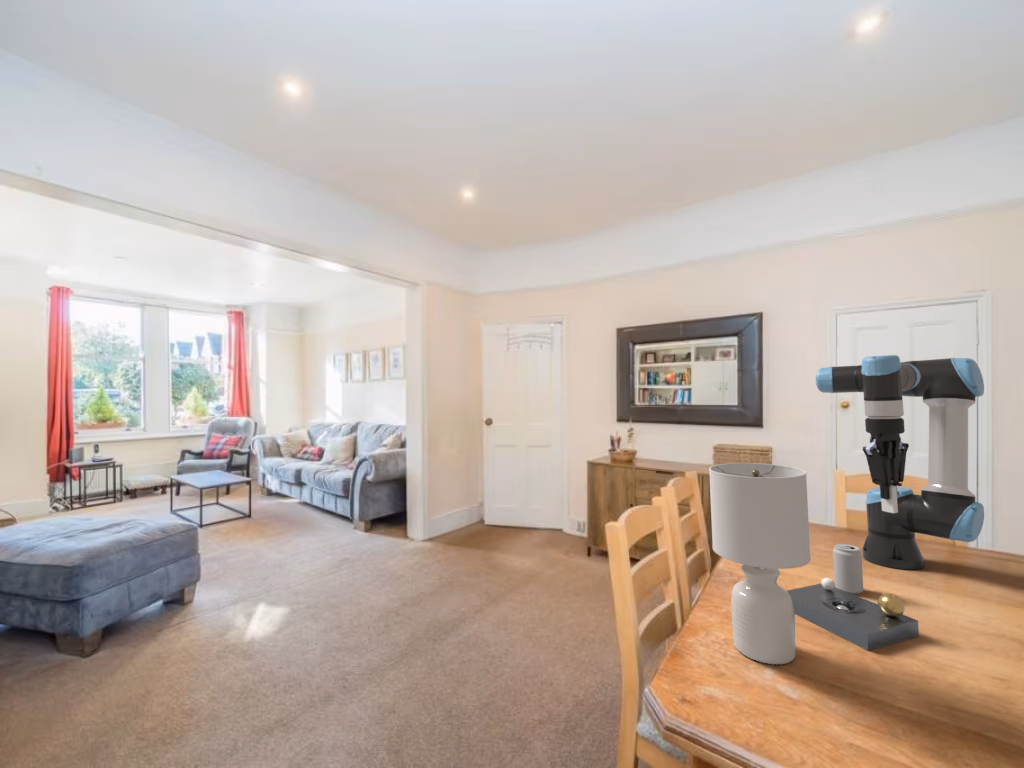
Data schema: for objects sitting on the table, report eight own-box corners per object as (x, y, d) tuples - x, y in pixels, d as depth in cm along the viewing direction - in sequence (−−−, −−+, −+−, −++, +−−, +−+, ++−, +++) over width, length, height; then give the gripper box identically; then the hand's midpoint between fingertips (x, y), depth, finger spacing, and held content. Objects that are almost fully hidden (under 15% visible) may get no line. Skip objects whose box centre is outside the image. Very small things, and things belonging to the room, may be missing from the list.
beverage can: (868, 596, 122) (866, 551, 122) (841, 594, 123) (839, 550, 123) (855, 586, 128) (853, 543, 128) (830, 584, 129) (828, 542, 129)
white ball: (827, 586, 120) (826, 575, 120) (838, 591, 117) (837, 579, 118) (818, 588, 119) (818, 576, 119) (829, 592, 117) (829, 581, 117)
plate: (824, 595, 123) (824, 582, 123) (918, 636, 102) (918, 620, 102) (779, 605, 118) (778, 592, 118) (868, 650, 97) (867, 634, 97)
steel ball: (827, 611, 111) (835, 620, 111) (842, 617, 107) (850, 626, 108) (835, 599, 111) (843, 608, 112) (849, 605, 108) (857, 614, 109)
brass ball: (887, 609, 107) (886, 589, 107) (910, 618, 103) (909, 597, 103) (873, 613, 106) (872, 592, 106) (895, 622, 101) (894, 601, 101)
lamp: (703, 628, 108) (696, 464, 109) (783, 627, 108) (775, 462, 108) (740, 677, 89) (731, 479, 90) (837, 676, 89) (827, 476, 90)
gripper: (886, 414, 118) (891, 504, 118) (849, 418, 115) (855, 511, 114) (919, 416, 111) (925, 511, 111) (881, 419, 107) (887, 519, 107)
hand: (889, 511), depth 113 cm, fingers closed
